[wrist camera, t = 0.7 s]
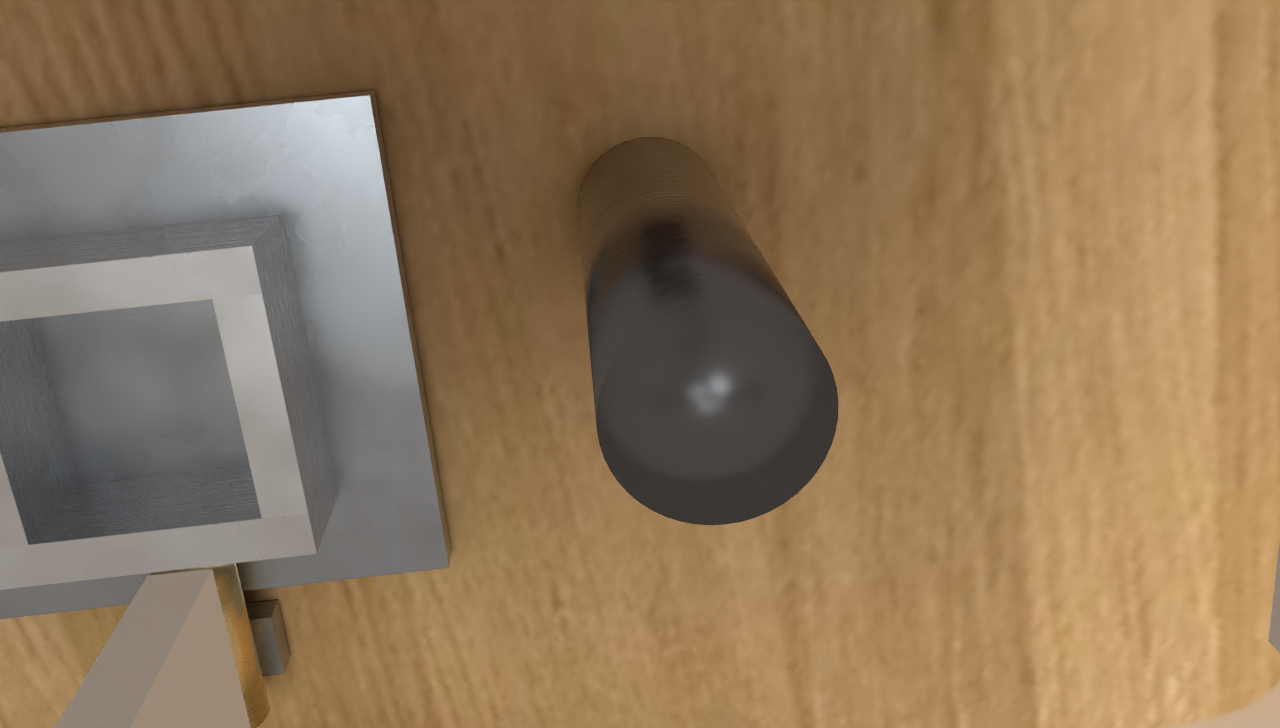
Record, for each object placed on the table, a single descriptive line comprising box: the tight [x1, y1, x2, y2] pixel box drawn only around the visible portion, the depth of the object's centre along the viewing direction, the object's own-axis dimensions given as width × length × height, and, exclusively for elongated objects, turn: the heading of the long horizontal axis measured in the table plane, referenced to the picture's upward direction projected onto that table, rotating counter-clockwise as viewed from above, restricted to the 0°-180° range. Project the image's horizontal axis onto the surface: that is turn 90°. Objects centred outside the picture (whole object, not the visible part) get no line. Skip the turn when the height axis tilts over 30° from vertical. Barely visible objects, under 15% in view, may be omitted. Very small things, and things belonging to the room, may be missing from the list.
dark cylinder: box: [578, 137, 838, 525], centre depth 27 cm, size 4×4×15 cm
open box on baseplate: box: [0, 90, 451, 728], centre depth 33 cm, size 18×14×4 cm
